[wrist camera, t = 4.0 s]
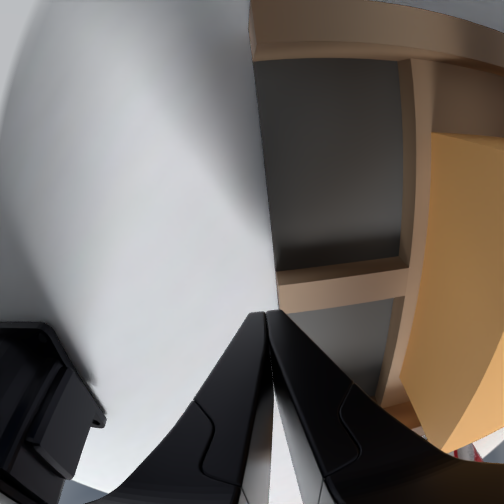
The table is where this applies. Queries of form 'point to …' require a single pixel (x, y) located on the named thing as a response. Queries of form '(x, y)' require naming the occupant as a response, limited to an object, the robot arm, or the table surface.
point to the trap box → (362, 164)
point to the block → (460, 296)
